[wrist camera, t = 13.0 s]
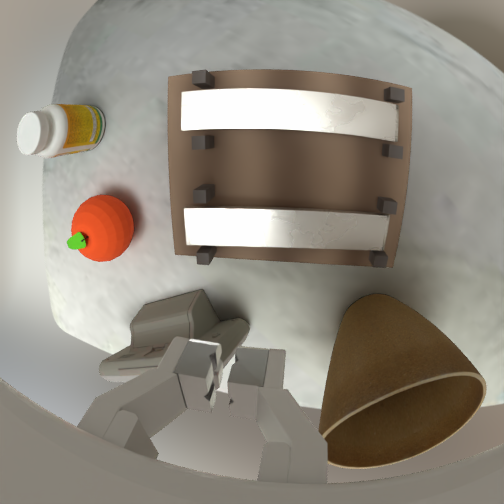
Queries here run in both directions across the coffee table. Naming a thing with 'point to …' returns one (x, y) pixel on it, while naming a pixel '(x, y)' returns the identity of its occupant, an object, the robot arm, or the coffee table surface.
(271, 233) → the strap
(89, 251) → the clementine
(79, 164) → the coffee table surface
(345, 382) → the plant pot
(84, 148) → the supplement bottle
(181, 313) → the digital clock
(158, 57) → the coffee table surface
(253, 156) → the strap base
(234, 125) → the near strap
